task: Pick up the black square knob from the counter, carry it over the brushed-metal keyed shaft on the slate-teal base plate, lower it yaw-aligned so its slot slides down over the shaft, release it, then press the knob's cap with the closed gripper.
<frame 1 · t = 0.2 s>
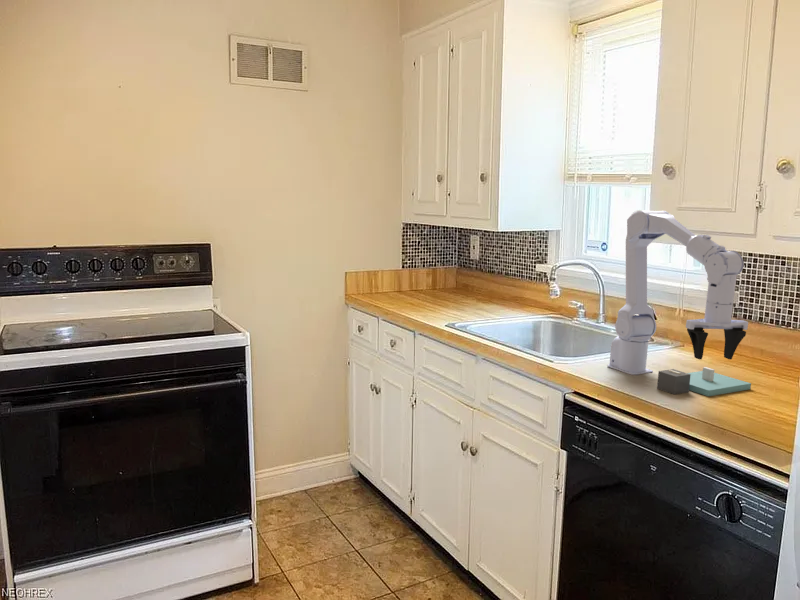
hand: (713, 358, 154), 10 cm above the worktop, fingers open, 7 cm apart
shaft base: (706, 385, 165), on the worktop
knob: (672, 390, 160), on the worktop
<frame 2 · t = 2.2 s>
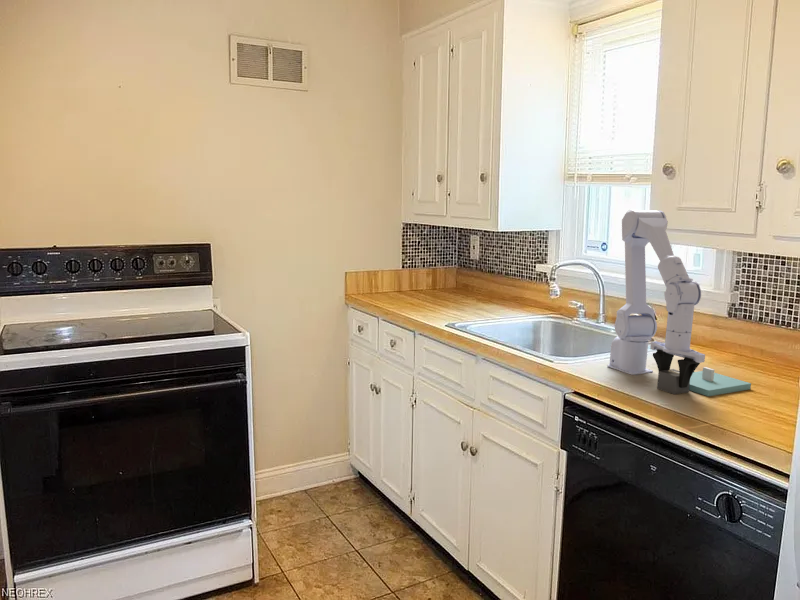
hand: (673, 383, 160), 2 cm above the worktop, fingers closed on knob, 5 cm apart
knob: (672, 390, 160), on the worktop, touching gripper
when the fingers open (4 cm above the worktop, at t = 6.7 s): knob stays where it is, resting on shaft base.
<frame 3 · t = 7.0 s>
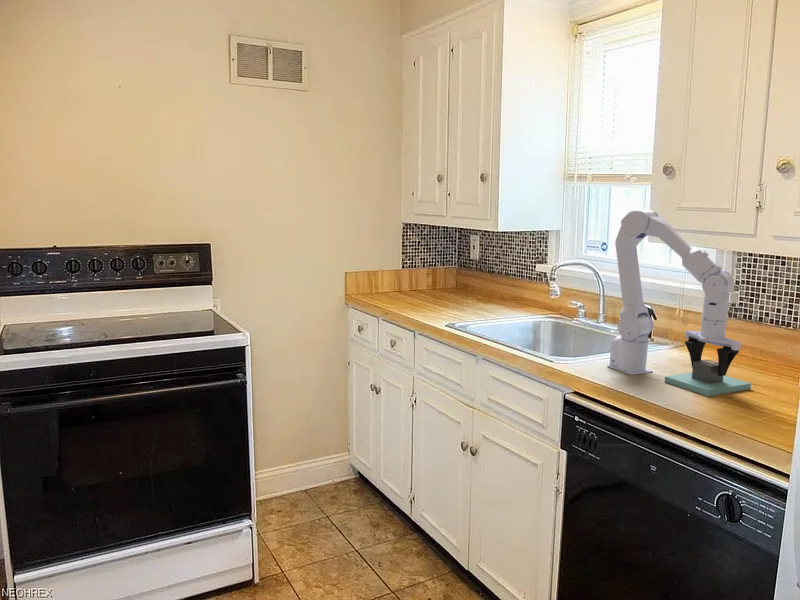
hand: (708, 371, 165), 4 cm above the worktop, fingers open, 7 cm apart
knob: (707, 379, 165), point 1 cm above the worktop, touching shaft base
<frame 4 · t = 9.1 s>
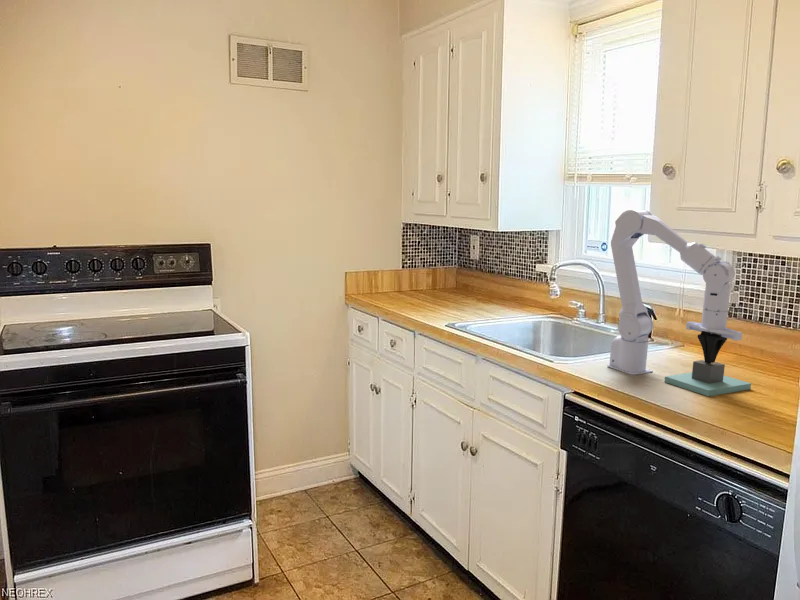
hand: (709, 362, 164), 6 cm above the worktop, fingers closed, pressing on knob
knob: (707, 379, 165), point 1 cm above the worktop, touching gripper, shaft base
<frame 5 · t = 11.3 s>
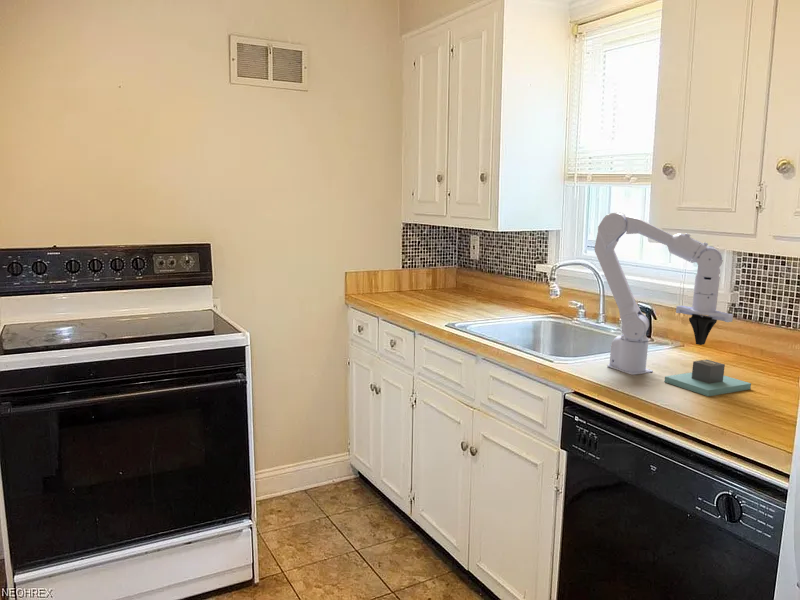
hand: (700, 344, 170), 9 cm above the worktop, fingers closed
knob: (707, 379, 165), point 1 cm above the worktop, touching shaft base
at the end: knob 0.2 cm off-centre on the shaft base, point 1.5 cm above the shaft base's base; knob tilted 0°; the gripper is holding nothing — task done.
